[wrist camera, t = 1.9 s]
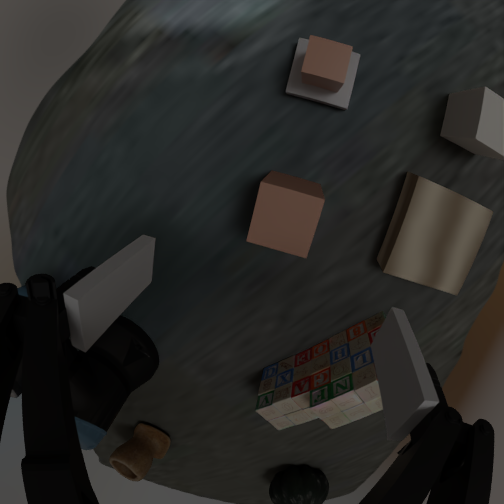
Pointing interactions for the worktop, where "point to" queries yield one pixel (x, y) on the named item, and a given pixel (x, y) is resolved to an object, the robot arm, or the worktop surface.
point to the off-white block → (476, 122)
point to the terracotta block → (286, 213)
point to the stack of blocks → (324, 381)
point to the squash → (299, 486)
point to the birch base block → (433, 235)
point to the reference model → (323, 72)
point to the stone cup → (140, 452)
